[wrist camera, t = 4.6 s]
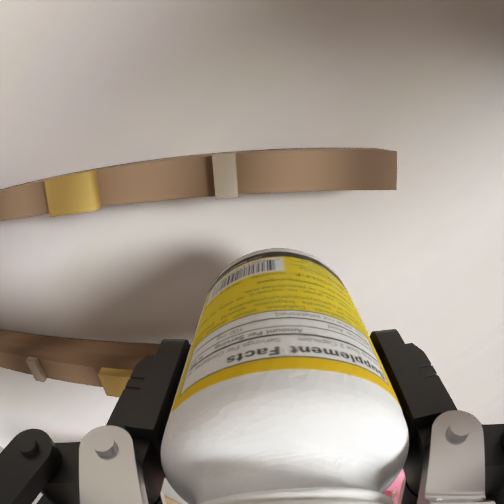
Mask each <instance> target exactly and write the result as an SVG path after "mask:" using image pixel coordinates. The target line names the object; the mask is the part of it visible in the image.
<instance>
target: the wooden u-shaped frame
mask: <svg viewBox="0 0 504 504" xmlns="http://www.w3.org/2000/svg"><path fill="white" fill-rule="evenodd" d="M396 181H397V152H396V151H389V150H383V149H376V148H294V149H268V150H250V151H235V152H222V153H210V154H200V155H190V156H180V157H172V158H163V159H155V160H148V161H141V162H134V163H127V164H120V165H114V166H108V167H102V168H96V169H91V170H85V171H80V172H75V173H70V174H65V175H60V176H55V177H50V178H46V179H41V180H37V181H33V182H28V183H24V184H20V185H16V186H12V187H8V188H4V189H0V221H6V220H11V219H17V218H24V217H30V216H36V215H43V214H50V217H54V216H61V215H69V214H77V213H85V212H93V211H96V210H98V209H100V208H101V207H103V206H111V205H120V204H129V203H139V202H148V201H159V200H170V199H181V198H193V197H206V196H215V197H216V199H224V198H238V196H239V194H253V193H272V192H296V191H329V190H396ZM159 346H160V344H142V343H122V342H106V341H93V340H81V339H70V338H60V337H51V336H42V335H34V334H26V333H19V332H11V331H5V330H0V367H3V368H7V369H11V370H15V371H19V372H23V373H28V374H32V375H33V376H34V378H35V380H37V381H42V382H45V380H46V379H47V378H51V379H56V380H62V381H67V382H73V383H79V384H86V385H92V386H99V387H103V388H104V390H105V392H106V395H107V396H114V397H120V396H121V394H122V392H123V390H124V389H125V386H126V384H127V382H128V380H129V379H130V376H131V374H132V372H133V370H134V368H135V366H136V364H137V363H139V362H140V361H141V360H142V359H143V358H144V357H145V356H146V355H156V353H157V350H158V348H159ZM190 347H191V345H190Z"/></svg>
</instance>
